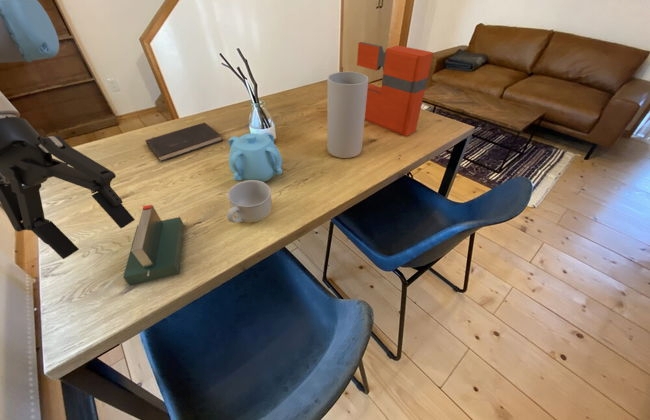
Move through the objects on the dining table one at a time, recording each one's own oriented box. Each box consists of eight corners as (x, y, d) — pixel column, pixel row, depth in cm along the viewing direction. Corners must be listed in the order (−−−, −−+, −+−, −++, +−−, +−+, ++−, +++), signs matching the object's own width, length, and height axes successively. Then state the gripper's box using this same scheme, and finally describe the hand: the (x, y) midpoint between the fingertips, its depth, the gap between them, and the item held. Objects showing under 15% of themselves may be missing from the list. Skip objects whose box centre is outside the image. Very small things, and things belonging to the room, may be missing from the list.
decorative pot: (282, 158, 97) (277, 121, 88) (284, 185, 85) (279, 146, 76) (235, 162, 95) (225, 125, 86) (230, 190, 83) (218, 150, 74)
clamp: (354, 105, 132) (359, 36, 113) (418, 129, 113) (437, 51, 94) (340, 111, 127) (343, 40, 108) (405, 136, 108) (422, 56, 89)
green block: (198, 273, 61) (193, 264, 59) (107, 295, 58) (98, 286, 55) (200, 219, 74) (196, 210, 72) (125, 234, 70) (119, 225, 68)
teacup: (255, 196, 81) (250, 174, 76) (282, 211, 76) (279, 188, 71) (216, 224, 73) (208, 201, 67) (244, 242, 68) (237, 219, 63)
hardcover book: (222, 140, 107) (221, 135, 105) (160, 162, 95) (158, 156, 94) (205, 127, 115) (203, 121, 114) (147, 145, 104) (144, 139, 103)
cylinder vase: (367, 148, 102) (375, 76, 85) (349, 163, 94) (354, 87, 78) (339, 138, 107) (342, 69, 90) (320, 152, 100) (319, 79, 83)
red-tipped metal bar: (154, 266, 59) (141, 247, 55) (144, 268, 59) (130, 250, 55) (162, 222, 69) (152, 204, 65) (154, 224, 69) (142, 205, 64)
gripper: (74, 84, 41) (166, 201, 49) (-31, 158, 46) (67, 254, 54) (22, 83, 34) (139, 220, 42) (-94, 170, 39) (28, 278, 47)
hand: (99, 239), depth 48 cm, fingers open, 13 cm apart
